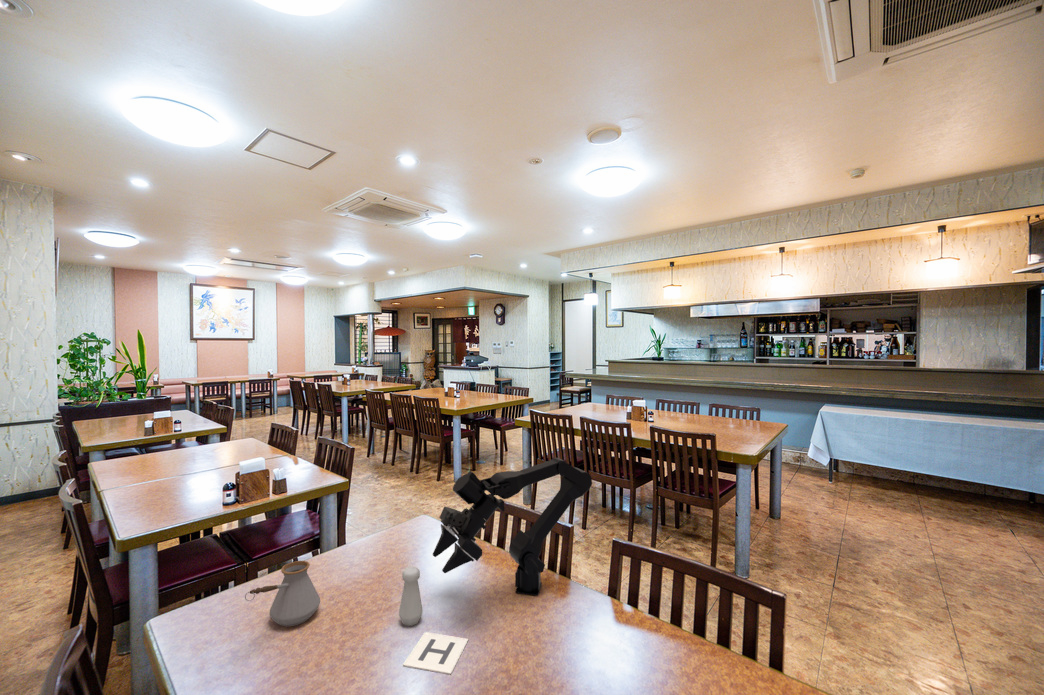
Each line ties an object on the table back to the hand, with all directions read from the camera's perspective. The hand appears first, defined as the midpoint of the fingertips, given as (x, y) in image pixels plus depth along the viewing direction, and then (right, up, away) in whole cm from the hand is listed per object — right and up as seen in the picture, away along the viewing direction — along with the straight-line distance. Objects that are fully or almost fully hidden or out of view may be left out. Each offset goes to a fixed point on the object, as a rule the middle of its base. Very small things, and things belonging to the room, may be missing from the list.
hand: (438, 563), depth 112 cm
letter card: (+2, -13, -14) cm, 19 cm away
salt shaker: (-6, -13, -3) cm, 15 cm away
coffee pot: (-37, -13, -7) cm, 40 cm away
